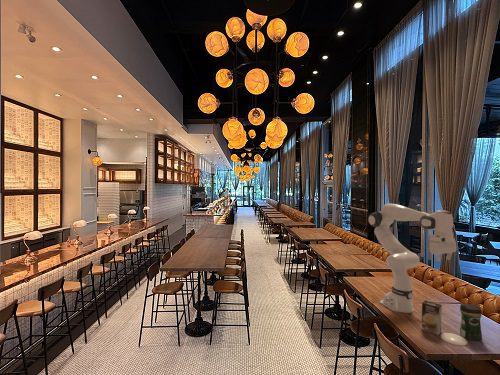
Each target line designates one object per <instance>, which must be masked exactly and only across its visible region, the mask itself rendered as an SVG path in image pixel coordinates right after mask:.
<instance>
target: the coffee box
mask: <svg viewBox="0 0 500 375" xmlns="http://www.w3.org/2000/svg"><path fill="white" fill-rule="evenodd" d="M442 306H443V305H442V304H440V303H436V302H432V301H429V300H426V299H425V300H423V301H422V303H421V330H422V331H425V332H429V333H431V334H435V335H441V332H442V308H443V307H442Z"/></svg>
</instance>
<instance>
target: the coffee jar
mask: <svg viewBox="0 0 500 375" xmlns="http://www.w3.org/2000/svg"><path fill="white" fill-rule="evenodd" d="M459 311H460V313H461V316H460V317H461V322H460V328H459V334H460V336H461V337H463V338H465V339H466V340H469V341H482V339H483V335H482V334H483V333H482V326H481V318H482V316H483V314H482V313H483V312H482V308H481V307H480V305H478V304H471V303H470V304H469V303H460V308H459Z"/></svg>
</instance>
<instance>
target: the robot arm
mask: <svg viewBox="0 0 500 375" xmlns="http://www.w3.org/2000/svg"><path fill="white" fill-rule="evenodd" d="M381 208H382V209H381V211H378V210H377V211H375V212H372V213H370V214H369V215H368V217H367V222H368V224H369V225H370V226H371V227H373V228H374V227H375V228H374V230H373V232H374V235H375V236H376V238H377V240H378V242H379V243H380V245H381V246H382V248H383V249H384V250H385V251H386V252H387V253H389V254H390V255H388V256H387V257H386V261H385V262H386V265H387V267H388V268H389V269H390V270H391V272H392V275H393V286H390V287H389V288H390V289H391V291H389V292H387V293H385V294H384V296H383V299H381V300H379V304H380V305H382V306H384V307H386V308H388V309H390V310H391V311H393V312H400V313H404V314H405V313H406V314H407V313H410V314H411V313H414V312H415V308H414V305H413V287H412V284H413V283H412V282H413V279H412V277H411V276H410V275H409V274H408V270H407V269H413V268H416V267H418V266H419V265H420V262H421V260H420V256H419V255H418V254H417V253H415V252H413V251H410V250H409V249H408V248H407V247H405V246H404V245H403V244H402V243H400V241H399V240H398V239H397V238H396V236H395V235H394V234H393V232H392V231H391V229H390V228H393V227H394V225H395V224H396V222H397V221H398V222H415V221H416V222H419V224H420V226H421V227H422V229H423V230H427V231H434V234H433V235H431V236H430V237H429V242H430V243H429V252H430V254H432V255H434V257H435V261H436V262H442V259H441V257H440V256H441V255H443V254H446V256H445V259H446V260H447V261H450V260H451V258H452V255H453V253H456V252H457V242H456V241H457V240H456V238H455V237H454V235H453V234H454V232H453V227H454V219H453V214H452V212H451V211H448V210H444V209H438V210H436V211H434V212H433V213H428V212H425V211H420V210H417V209H413V208H411V207H410V208H409V207H407V206H404V205H400V204H397V203H385V204H384V205H383V206H382V207H381Z"/></svg>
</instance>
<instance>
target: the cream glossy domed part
mask: <svg viewBox="0 0 500 375" xmlns="http://www.w3.org/2000/svg"><path fill="white" fill-rule="evenodd" d="M440 339H442V341H444V342H446V343H448V344H451V345H455V346H463V347H464V346H467V345H468V339H466V338H464V337H462V336H461V335H458V334H455V333H450V332H442V333H440Z"/></svg>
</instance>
